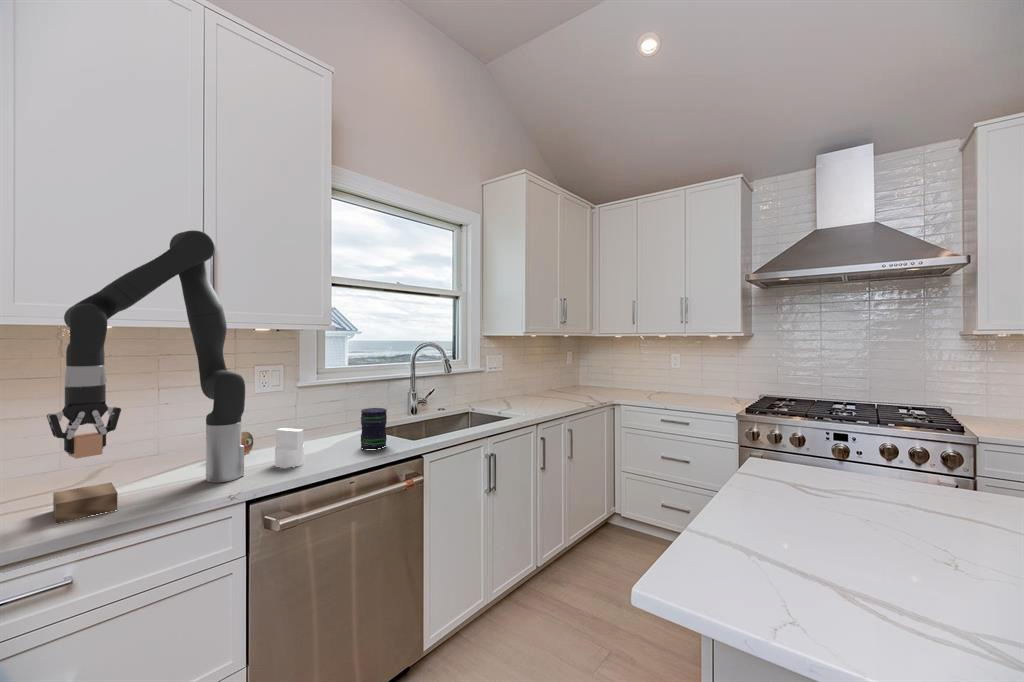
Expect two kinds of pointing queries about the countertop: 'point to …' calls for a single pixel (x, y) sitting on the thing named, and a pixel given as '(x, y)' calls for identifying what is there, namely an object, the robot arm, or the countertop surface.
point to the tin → (246, 441)
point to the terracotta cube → (87, 445)
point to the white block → (289, 447)
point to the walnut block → (84, 502)
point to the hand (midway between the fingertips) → (85, 450)
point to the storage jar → (373, 428)
